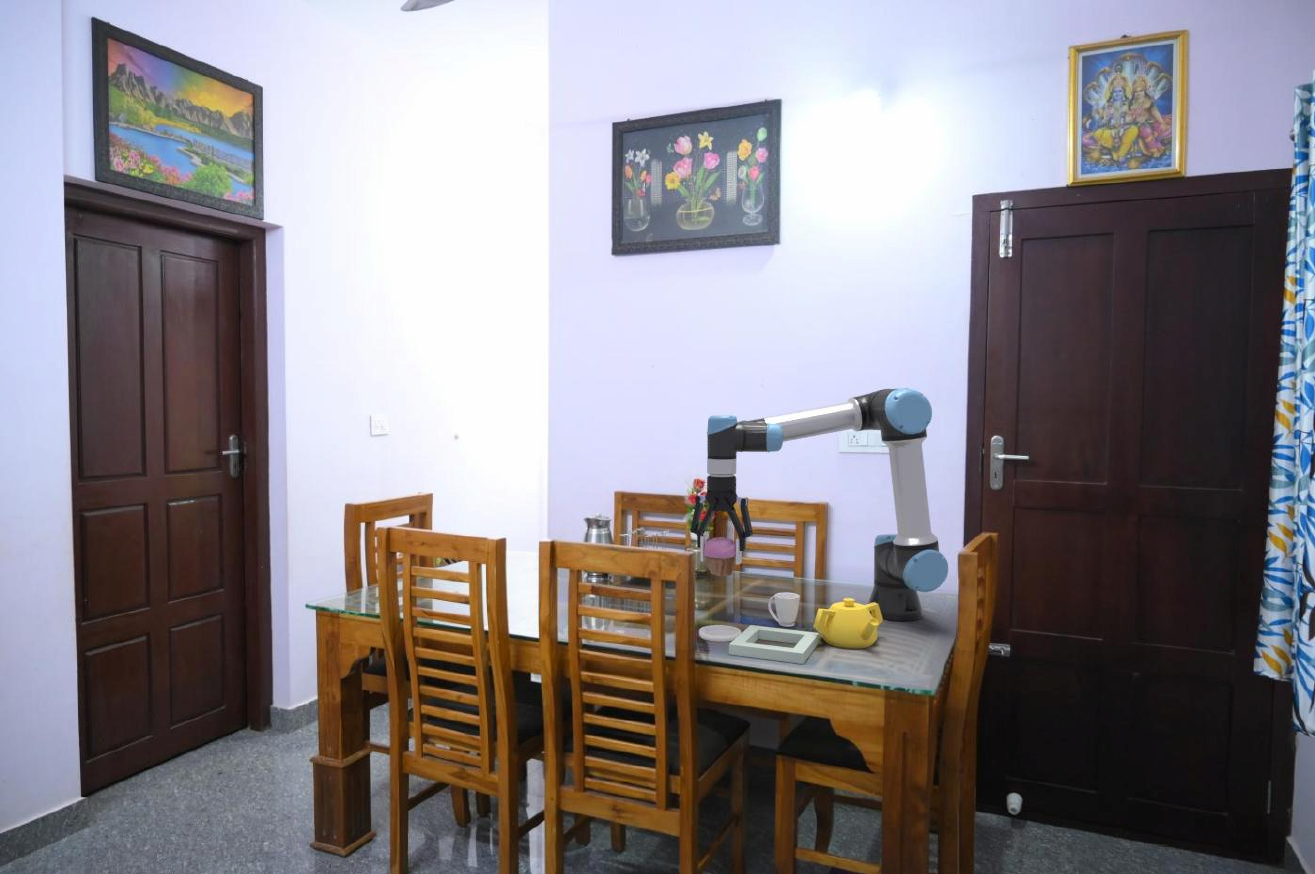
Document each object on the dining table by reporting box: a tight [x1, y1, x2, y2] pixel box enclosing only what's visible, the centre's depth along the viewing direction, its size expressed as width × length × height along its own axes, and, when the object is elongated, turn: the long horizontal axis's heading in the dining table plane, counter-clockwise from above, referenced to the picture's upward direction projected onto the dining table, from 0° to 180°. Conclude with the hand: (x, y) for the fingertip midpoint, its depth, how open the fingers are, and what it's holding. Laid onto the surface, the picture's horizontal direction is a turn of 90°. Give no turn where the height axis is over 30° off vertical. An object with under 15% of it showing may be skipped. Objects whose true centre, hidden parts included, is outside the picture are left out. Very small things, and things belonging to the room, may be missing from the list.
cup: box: [767, 591, 801, 628], centre depth 225 cm, size 7×10×8 cm
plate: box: [698, 624, 742, 643], centre depth 213 cm, size 11×11×1 cm
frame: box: [728, 624, 820, 665], centre depth 202 cm, size 18×18×2 cm
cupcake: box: [704, 536, 736, 577], centre depth 212 cm, size 9×9×10 cm
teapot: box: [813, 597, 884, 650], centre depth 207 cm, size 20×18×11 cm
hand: (721, 561), depth 212 cm, fingers closed on cupcake, 9 cm apart
